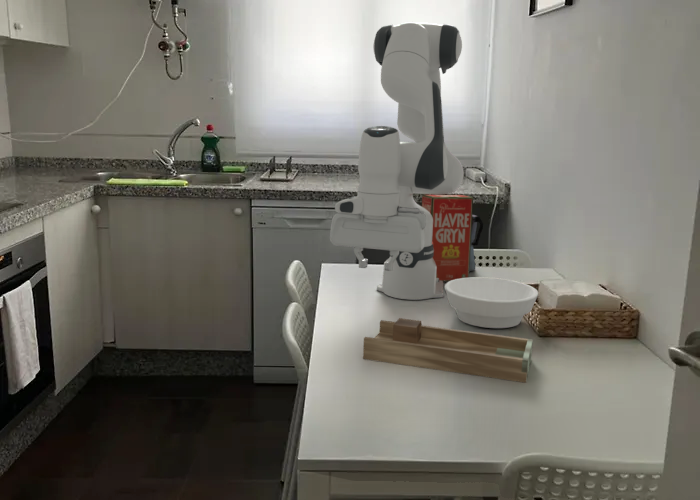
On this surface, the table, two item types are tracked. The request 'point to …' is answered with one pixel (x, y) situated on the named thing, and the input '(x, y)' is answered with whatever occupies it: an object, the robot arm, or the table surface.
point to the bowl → (490, 301)
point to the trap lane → (454, 352)
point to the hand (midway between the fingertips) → (375, 268)
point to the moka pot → (473, 231)
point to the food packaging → (450, 234)
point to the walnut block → (407, 330)
